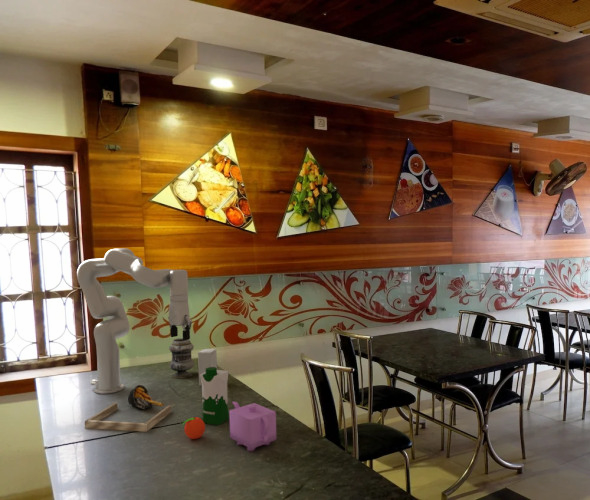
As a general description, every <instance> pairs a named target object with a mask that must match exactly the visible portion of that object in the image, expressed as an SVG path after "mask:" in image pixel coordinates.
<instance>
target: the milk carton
mask: <svg viewBox="0 0 590 500" xmlns="http://www.w3.org/2000/svg"><path fill="white" fill-rule="evenodd" d="M200 378H201V383H202V386H201V395H202V396H201V397H202V399H201V400H202V420H203V422H204V424H209V425H213V426H220V425H221V424H223V423H224V422H226V421H227V420H230V416H229V406H228V405H229V404H228V403H229V402H228V400H229V399H228V380H229V370H224V369H222V370H221V369H218V367H217V368H216V367H209V368H206V372H204V373H202V374H200Z"/></svg>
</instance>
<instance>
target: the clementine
mask: <svg viewBox="0 0 590 500" xmlns="http://www.w3.org/2000/svg"><path fill="white" fill-rule="evenodd" d="M184 424H185V425H184ZM183 426H184V427H183ZM181 428H184V433H185V434H184V435H186V437H187V438H189V439H191V440H196V439H197V440H198V439H199V438H201V437H202V436H203V434H204V433H205V432H206V423H204V422H203V418H201V417H199V416H198V417H197V416H194V417H190V418H188V419H186V420H185V421H183V422H182V425H181Z"/></svg>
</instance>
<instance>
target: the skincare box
mask: <svg viewBox="0 0 590 500" xmlns="http://www.w3.org/2000/svg"><path fill="white" fill-rule="evenodd" d="M217 355H218V354H217V348H204V349H202V350H200V351H198V352H197V359H198V361H197V362H198V382H199V383H198V384H199V385H198V386H199V387H200V386H201V387H202V383H201V378H200V374H202V373H204V372H206V368H209V367H216V368H217V369H218V357H217Z"/></svg>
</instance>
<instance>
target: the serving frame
mask: <svg viewBox="0 0 590 500" xmlns="http://www.w3.org/2000/svg"><path fill="white" fill-rule="evenodd" d="M118 404H119V403H118V402H114V403H112V404H110V405H109V406H107V407H105V408H104V409H101V411H99V412H97V413H95V414H94V415H93V416H91V417H89V418H87V419H86V420H85V421H84V429H96V430H112V431H115V430H116V431H128V432H142V433H143V432H148V431H150V430H151V429H152V428H153V427H155V426H156V425H158V423H160V422H161V421H162V420H163V419H165V418H166V417H167V416H168V415H170V414H171V413H172V405H170V404H169V405H167V406H166V407H164V408H163V409H162V410H160V411H159V412H158V413H156V414H155V415H154V416H153V417H151V418H150V419H149V420H148V421H146V422H145V423H144V422H130V421H115V420H114V421H111V420H109V421H108V420H103V419H105V418H106V417H108V416H109V415H111V414H113V413H115V411H117V410H119V406H118Z"/></svg>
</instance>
